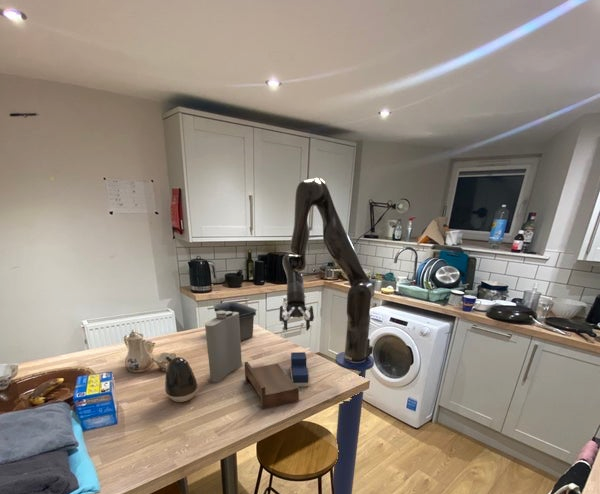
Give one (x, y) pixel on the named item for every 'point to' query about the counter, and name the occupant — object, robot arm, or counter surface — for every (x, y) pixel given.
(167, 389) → the dark brown tall dome
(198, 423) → the counter surface
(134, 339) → the chinaware
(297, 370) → the trainer
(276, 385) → the shoe shelf
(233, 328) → the flask
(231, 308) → the storage bin
